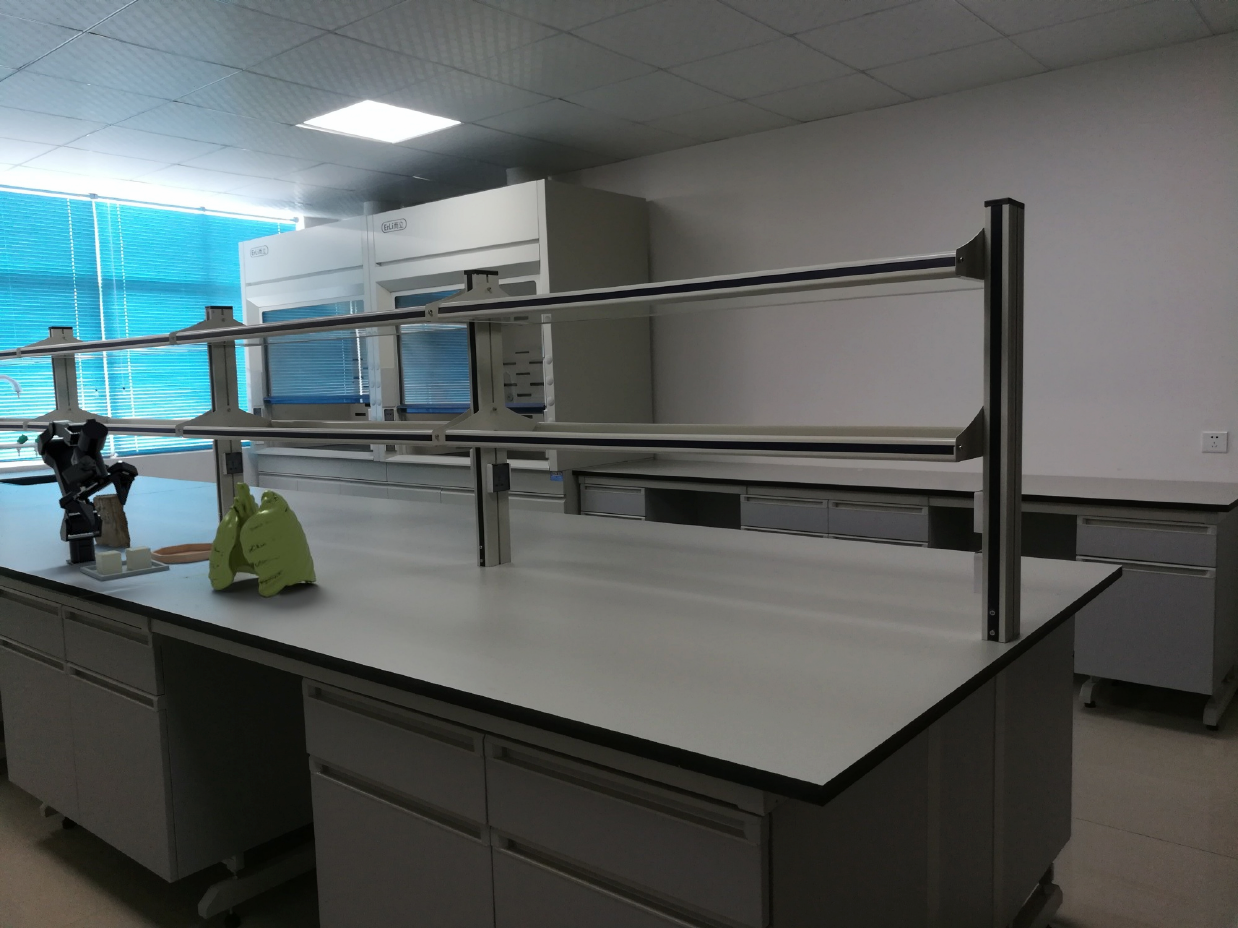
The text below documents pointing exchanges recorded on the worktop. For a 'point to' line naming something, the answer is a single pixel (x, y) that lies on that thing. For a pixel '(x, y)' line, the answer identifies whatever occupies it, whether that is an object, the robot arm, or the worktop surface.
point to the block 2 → (138, 558)
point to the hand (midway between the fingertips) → (107, 514)
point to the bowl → (182, 553)
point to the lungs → (260, 544)
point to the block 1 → (108, 562)
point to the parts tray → (124, 571)
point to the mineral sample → (112, 521)
